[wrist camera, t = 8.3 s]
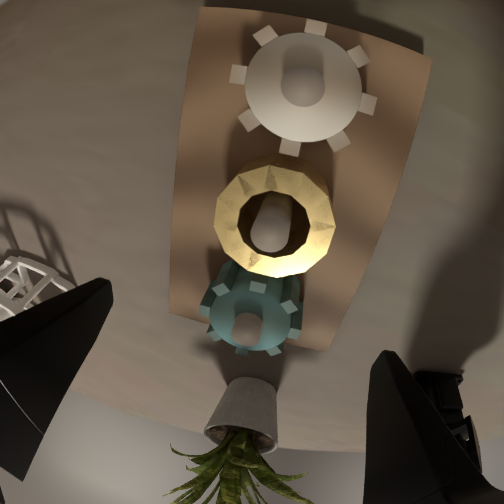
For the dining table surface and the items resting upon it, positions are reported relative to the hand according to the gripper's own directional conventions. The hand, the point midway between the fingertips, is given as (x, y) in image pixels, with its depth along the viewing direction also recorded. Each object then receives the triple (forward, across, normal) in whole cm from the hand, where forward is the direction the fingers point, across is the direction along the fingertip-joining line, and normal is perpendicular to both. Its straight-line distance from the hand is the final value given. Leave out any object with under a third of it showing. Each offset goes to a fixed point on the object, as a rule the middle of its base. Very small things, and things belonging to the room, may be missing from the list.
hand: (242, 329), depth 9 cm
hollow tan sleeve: (+10, 0, 0) cm, 10 cm away
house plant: (+12, -2, +22) cm, 26 cm away
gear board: (+12, 0, 0) cm, 12 cm away
